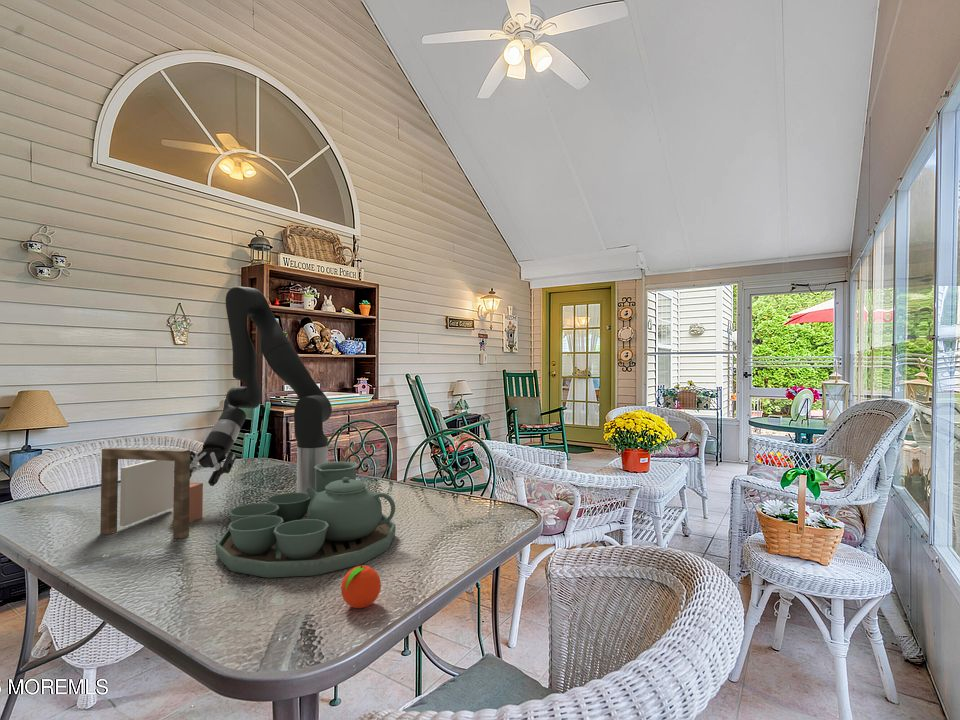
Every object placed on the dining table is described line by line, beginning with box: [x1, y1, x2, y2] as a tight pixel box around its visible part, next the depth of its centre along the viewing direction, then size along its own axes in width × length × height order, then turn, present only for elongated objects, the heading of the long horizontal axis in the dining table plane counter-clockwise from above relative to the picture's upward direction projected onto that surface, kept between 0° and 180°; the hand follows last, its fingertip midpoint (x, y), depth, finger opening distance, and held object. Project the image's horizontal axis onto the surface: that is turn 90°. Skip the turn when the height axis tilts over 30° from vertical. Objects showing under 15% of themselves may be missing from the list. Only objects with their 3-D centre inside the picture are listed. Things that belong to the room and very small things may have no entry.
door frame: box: [99, 446, 191, 539], centre depth 125 cm, size 22×2×21 cm, turn 83°
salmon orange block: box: [172, 482, 204, 523], centre depth 138 cm, size 5×5×10 cm
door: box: [119, 460, 174, 527], centre depth 137 cm, size 17×2×15 cm, turn 173°
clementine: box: [340, 564, 382, 609], centre depth 88 cm, size 8×7×7 cm
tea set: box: [215, 461, 397, 579], centre depth 119 cm, size 40×40×16 cm
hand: (196, 484), depth 140 cm, fingers open, 8 cm apart
